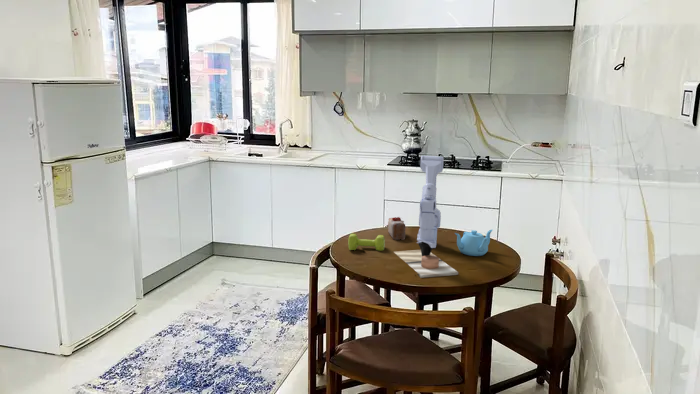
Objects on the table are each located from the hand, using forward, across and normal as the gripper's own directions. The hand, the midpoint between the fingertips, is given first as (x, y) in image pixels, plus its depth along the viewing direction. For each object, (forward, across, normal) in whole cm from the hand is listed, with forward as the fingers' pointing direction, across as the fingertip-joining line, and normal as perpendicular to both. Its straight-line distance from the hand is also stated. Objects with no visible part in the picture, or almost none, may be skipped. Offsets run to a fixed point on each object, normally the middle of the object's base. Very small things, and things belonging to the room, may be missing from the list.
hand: (425, 259), depth 215 cm
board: (+2, -2, 0) cm, 3 cm away
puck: (+1, +5, 0) cm, 5 cm away
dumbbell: (+3, -25, -18) cm, 31 cm away
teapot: (+2, -10, +28) cm, 30 cm away
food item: (+2, -44, +4) cm, 44 cm away
